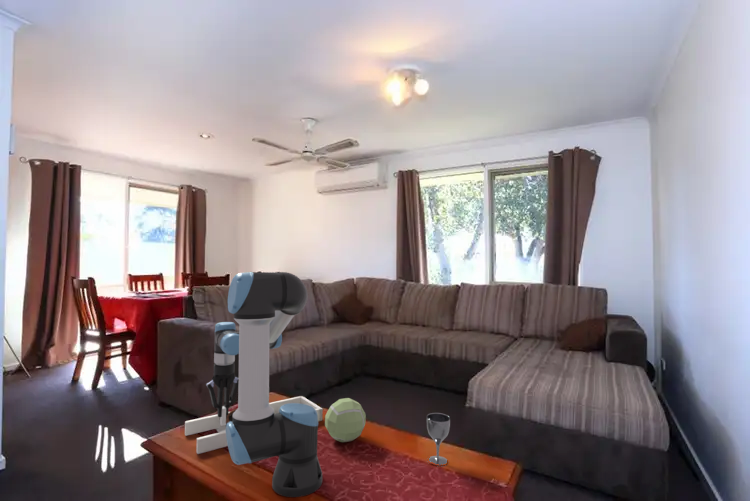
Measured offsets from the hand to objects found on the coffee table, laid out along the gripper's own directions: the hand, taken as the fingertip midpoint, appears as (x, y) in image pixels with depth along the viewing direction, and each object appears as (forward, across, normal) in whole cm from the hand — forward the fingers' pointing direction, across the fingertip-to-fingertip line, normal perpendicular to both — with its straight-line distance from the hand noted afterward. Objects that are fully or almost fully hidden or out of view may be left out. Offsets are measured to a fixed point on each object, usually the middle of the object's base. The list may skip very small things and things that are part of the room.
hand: (222, 424), depth 154 cm
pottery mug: (+3, -6, -2) cm, 7 cm away
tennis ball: (+4, -36, +30) cm, 48 cm away
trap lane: (+6, -14, 0) cm, 15 cm away
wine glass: (+4, -53, +62) cm, 82 cm away
